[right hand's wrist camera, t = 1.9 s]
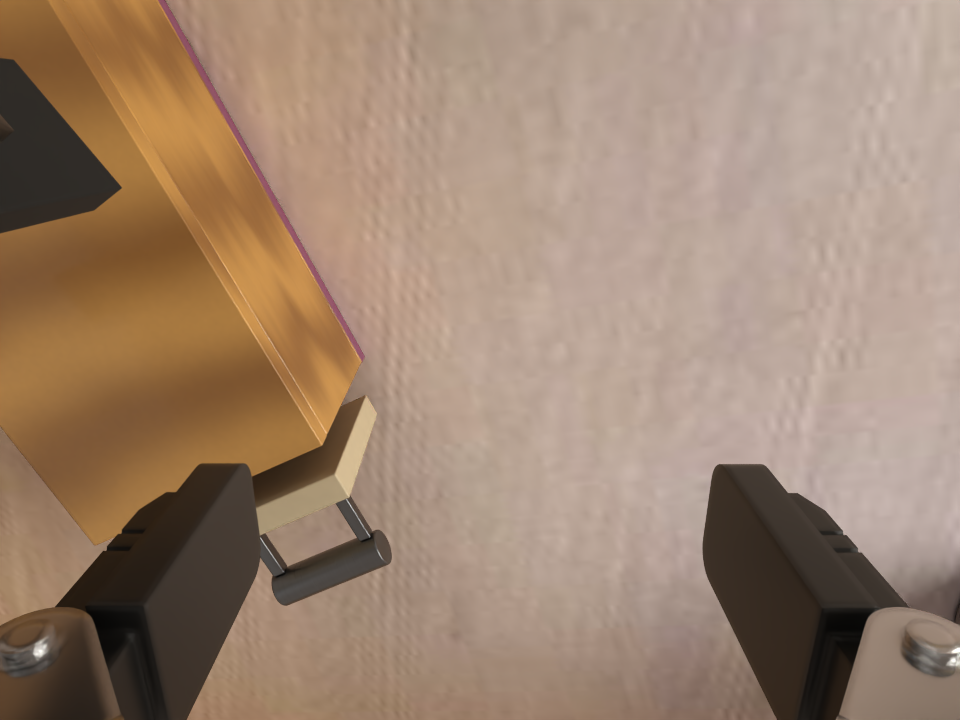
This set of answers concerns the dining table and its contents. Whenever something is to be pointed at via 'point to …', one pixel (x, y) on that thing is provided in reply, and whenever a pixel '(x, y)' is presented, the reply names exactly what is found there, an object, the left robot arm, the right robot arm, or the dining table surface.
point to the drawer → (312, 489)
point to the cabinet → (155, 280)
